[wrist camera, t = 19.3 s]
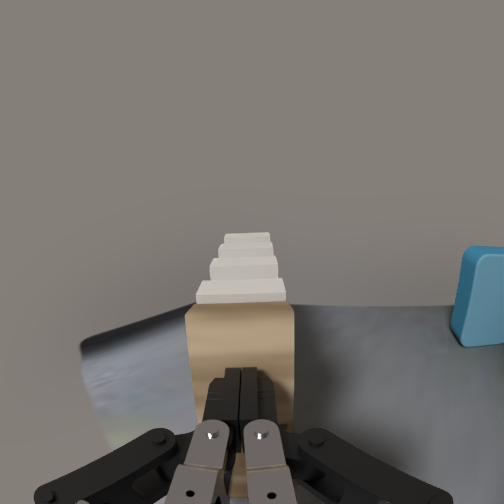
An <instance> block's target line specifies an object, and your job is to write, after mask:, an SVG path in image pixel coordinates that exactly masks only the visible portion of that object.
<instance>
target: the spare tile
mask: <svg viewBox="0 0 504 504" xmlns="http://www.w3.org/2000/svg"><path fill="white" fill-rule="evenodd" d="M185 323H186V333H187V343H188V352H189V360H190V369H191V377H192V384H193V391H194V398H195V405H196V412H197V418H198V424H200V423H201V422H202V419H203V414H204V408H205V403H206V400H207V393H208V388H209V384H210V383H211V382H212V381H213V379H214V378H224V375H225V368H233V367H241V371H242V367H257V374H258V377H269V378H270V379H271V380H272V382H273V383H274V392H275V402H276V413H277V422H278V424H279V426H280V427H281V428H282V429H284V430H285V431H287V432H290V433H293V411H294V311H293V309H292V307H291V305H290V304H289V302H288V301H271V302H248V303H214V304H194V305H193V306H192V307H191V309H190V310H189V311H188V312H187V313H186V314H185ZM230 497H248V486H247V474H246V458H245V453H243V449H241V453H236V459H235V470H234V476H233V482H232V488H231V494H230Z"/></svg>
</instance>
